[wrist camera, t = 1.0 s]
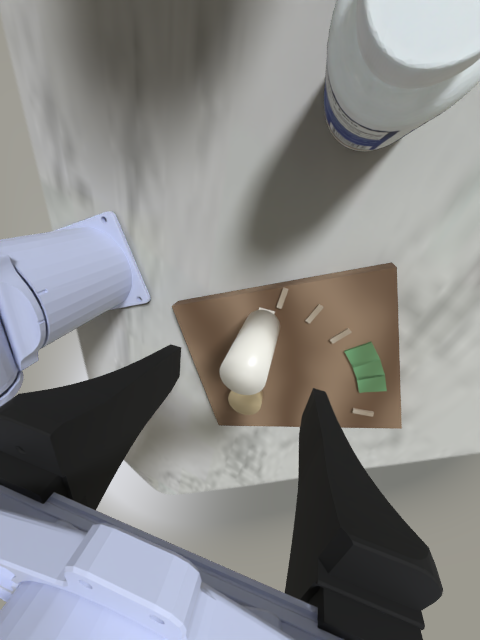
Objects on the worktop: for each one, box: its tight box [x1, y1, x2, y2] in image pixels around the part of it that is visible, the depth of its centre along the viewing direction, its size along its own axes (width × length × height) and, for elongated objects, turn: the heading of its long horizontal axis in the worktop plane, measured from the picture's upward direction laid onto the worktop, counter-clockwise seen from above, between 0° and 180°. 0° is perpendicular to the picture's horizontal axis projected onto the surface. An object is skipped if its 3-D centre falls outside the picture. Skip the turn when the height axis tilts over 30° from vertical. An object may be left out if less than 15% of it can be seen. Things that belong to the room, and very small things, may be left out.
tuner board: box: [172, 263, 401, 428], centre depth 22 cm, size 17×14×1 cm
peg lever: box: [220, 307, 280, 415], centre depth 19 cm, size 11×3×7 cm, turn 170°
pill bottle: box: [324, 0, 480, 151], centre depth 10 cm, size 5×5×10 cm
